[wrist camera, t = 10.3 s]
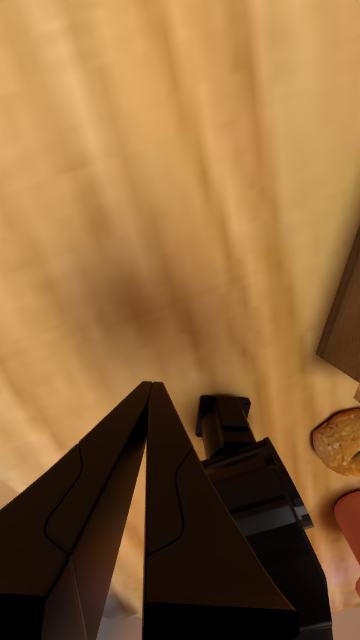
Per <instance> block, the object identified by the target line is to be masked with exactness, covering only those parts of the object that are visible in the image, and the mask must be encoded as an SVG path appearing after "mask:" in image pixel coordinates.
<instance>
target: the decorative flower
mask: <svg viewBox="0 0 360 640" xmlns="http://www.w3.org/2000/svg"><path fill="white" fill-rule="evenodd" d="M334 516H335V518H336V521H337V523H338V525H339V527H340V529H341V531H342V532H343V534H344V536H345V538H346V540H347V542H348V544H349V546H350V548H351V550H352V551H353V553H354V555H355V557H356V559H357V561H358V563H359V565H360V491H356V492H353V493H350V494H347V495H346V496H344V497H342V498H341V499H339V501H338V502H337V503H336V505H335V507H334ZM355 590H356V591H357V593H358V595H359V597H360V578H359V579H358V581H357V582H356V587H355Z"/></svg>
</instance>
